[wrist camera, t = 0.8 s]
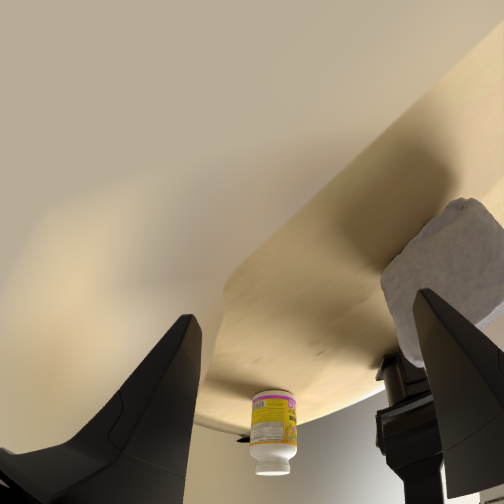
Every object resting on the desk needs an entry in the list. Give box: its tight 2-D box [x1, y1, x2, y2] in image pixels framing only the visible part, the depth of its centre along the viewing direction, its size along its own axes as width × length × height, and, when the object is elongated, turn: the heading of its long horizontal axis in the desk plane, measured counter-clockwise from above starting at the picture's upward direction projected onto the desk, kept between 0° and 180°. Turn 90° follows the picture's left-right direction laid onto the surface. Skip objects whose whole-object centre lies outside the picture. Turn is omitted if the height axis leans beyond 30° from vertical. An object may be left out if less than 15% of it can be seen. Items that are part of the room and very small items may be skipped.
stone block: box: [380, 198, 504, 367], centre depth 17 cm, size 12×5×10 cm, turn 146°
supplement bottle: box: [250, 390, 297, 475], centre depth 34 cm, size 7×7×13 cm
